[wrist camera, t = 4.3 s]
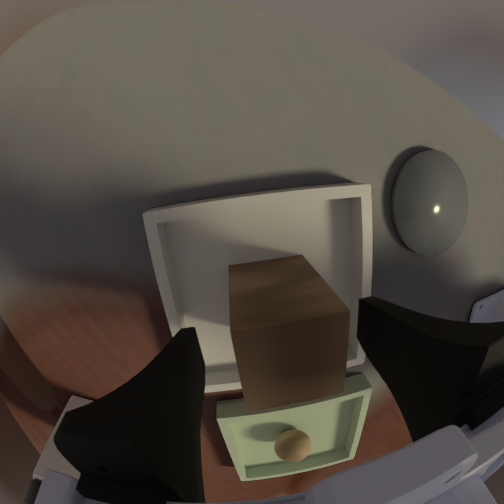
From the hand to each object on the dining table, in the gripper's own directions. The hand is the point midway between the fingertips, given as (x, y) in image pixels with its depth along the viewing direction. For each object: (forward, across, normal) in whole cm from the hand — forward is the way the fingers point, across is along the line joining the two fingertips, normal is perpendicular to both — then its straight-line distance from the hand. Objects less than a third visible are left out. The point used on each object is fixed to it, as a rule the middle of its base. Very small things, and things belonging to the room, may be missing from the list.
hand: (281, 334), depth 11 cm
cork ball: (+4, -1, +14) cm, 14 cm away
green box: (+5, -1, +14) cm, 15 cm away
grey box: (+5, 0, 0) cm, 5 cm away
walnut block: (+4, 0, 0) cm, 4 cm away
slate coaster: (+5, -12, -4) cm, 13 cm away
